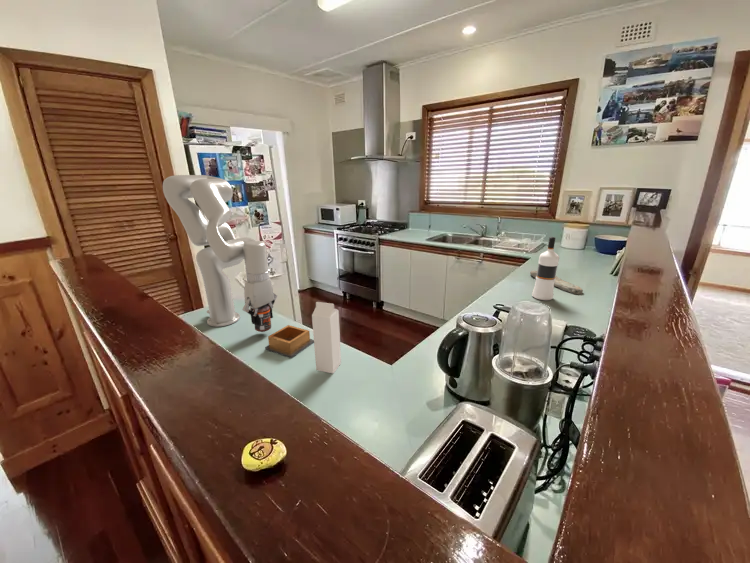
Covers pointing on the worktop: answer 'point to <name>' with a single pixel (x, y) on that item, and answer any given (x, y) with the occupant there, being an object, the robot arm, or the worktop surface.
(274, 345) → the square wooden tray
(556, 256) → the vodka
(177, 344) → the worktop surface
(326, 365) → the milk
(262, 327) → the supplement bottle
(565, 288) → the elongated rock
